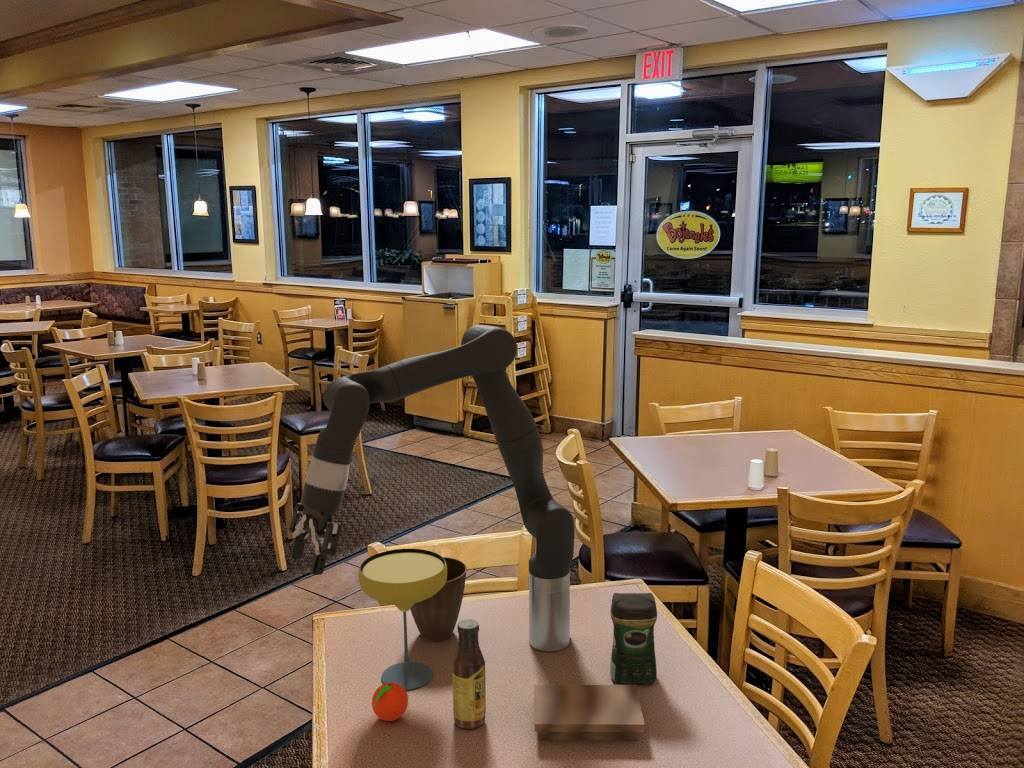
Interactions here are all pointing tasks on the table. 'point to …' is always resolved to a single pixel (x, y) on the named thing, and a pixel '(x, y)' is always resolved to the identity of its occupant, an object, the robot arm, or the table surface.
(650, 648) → the coffee jar
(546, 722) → the walnut shelf
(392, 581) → the cocktail glass
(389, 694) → the clementine
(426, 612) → the plant pot
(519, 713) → the table surface
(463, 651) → the sauce bottle
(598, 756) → the table surface
